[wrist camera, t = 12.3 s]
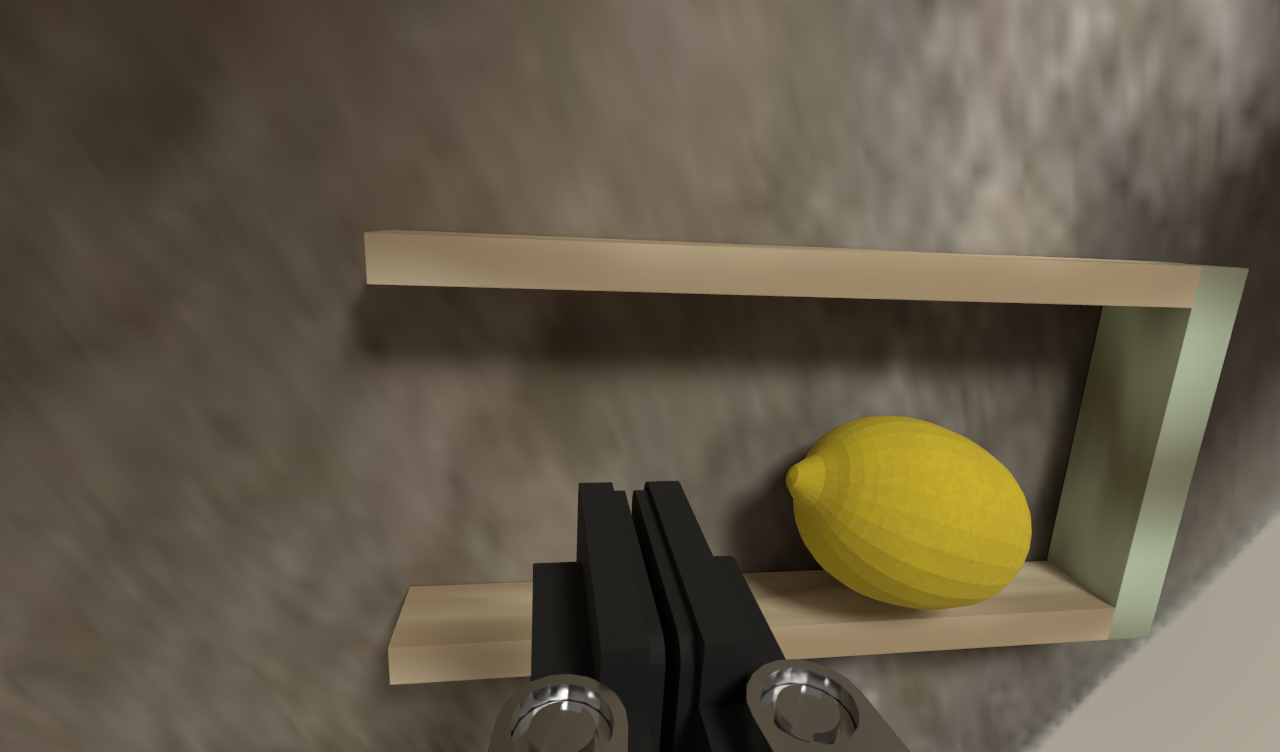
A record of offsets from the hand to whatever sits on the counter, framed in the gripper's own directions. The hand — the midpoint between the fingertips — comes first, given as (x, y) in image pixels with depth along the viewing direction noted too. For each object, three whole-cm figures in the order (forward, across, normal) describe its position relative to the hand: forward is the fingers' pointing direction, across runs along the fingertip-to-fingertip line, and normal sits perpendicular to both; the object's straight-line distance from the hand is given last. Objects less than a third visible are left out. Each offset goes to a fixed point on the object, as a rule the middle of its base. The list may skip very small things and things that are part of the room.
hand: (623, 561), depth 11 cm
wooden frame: (+9, -7, +2) cm, 12 cm away
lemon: (+7, -6, +2) cm, 9 cm away
